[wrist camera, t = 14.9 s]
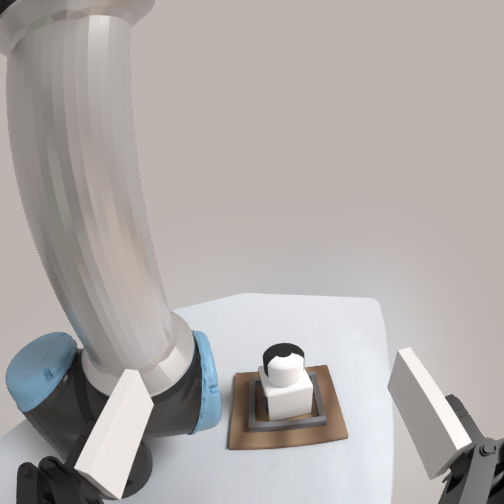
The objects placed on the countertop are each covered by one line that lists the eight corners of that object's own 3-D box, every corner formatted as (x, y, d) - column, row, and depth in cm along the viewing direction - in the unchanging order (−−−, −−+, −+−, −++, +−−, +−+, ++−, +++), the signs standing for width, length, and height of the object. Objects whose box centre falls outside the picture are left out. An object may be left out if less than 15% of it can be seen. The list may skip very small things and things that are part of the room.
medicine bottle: (260, 393, 44) (254, 342, 40) (299, 385, 44) (299, 334, 41) (268, 423, 37) (263, 372, 33) (311, 413, 38) (315, 361, 34)
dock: (229, 449, 33) (227, 442, 32) (236, 375, 50) (234, 367, 49) (347, 438, 32) (349, 430, 31) (326, 367, 49) (327, 359, 48)
